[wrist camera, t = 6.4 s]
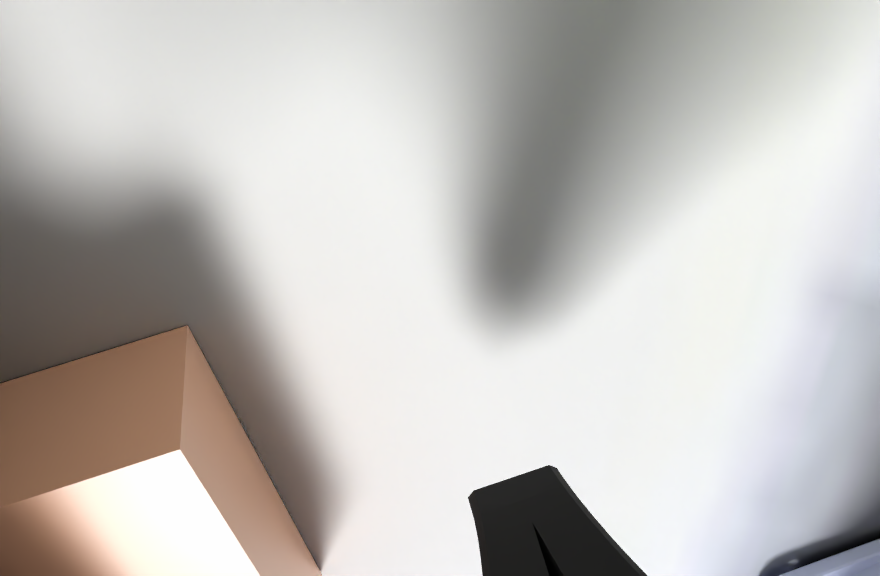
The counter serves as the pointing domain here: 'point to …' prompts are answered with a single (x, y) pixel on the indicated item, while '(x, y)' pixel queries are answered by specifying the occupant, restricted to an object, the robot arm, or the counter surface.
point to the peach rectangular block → (136, 472)
